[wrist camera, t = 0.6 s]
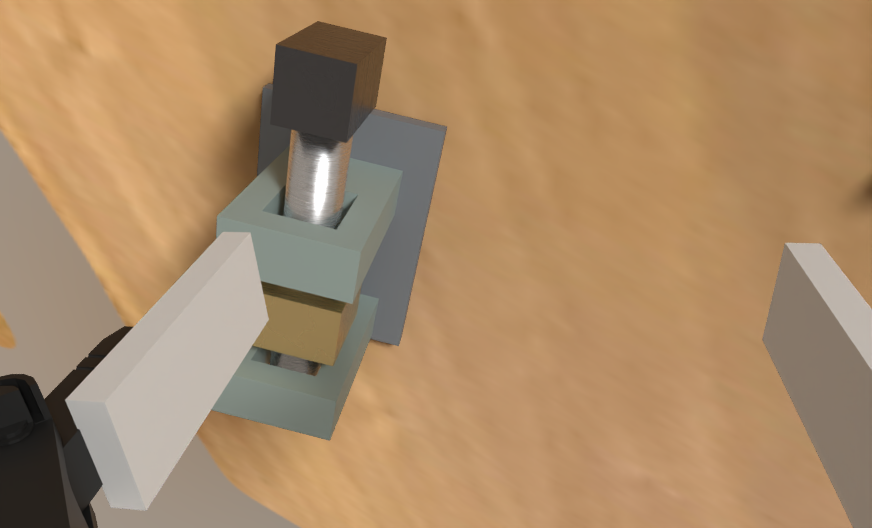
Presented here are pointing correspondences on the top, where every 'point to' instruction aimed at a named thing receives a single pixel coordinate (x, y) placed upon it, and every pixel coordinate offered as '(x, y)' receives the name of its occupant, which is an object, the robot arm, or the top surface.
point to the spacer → (305, 323)
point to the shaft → (322, 123)
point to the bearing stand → (334, 260)
